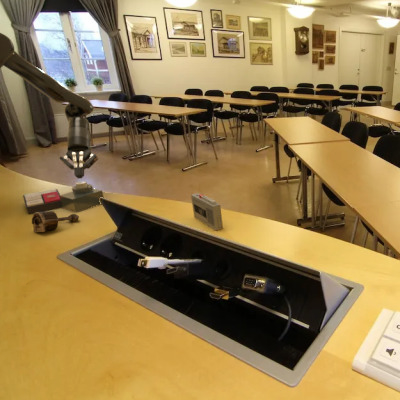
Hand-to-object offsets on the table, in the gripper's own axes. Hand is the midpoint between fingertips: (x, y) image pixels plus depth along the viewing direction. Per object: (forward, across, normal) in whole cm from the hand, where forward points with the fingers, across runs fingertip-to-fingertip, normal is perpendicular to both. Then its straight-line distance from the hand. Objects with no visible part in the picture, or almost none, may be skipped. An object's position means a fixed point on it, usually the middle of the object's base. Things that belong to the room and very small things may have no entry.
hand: (79, 177), depth 126 cm
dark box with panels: (+5, -15, +11) cm, 19 cm away
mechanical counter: (+23, -4, -7) cm, 25 cm away
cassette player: (+34, +44, -17) cm, 58 cm away
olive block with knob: (+9, 0, +7) cm, 12 cm away
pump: (+3, 0, +3) cm, 4 cm away
